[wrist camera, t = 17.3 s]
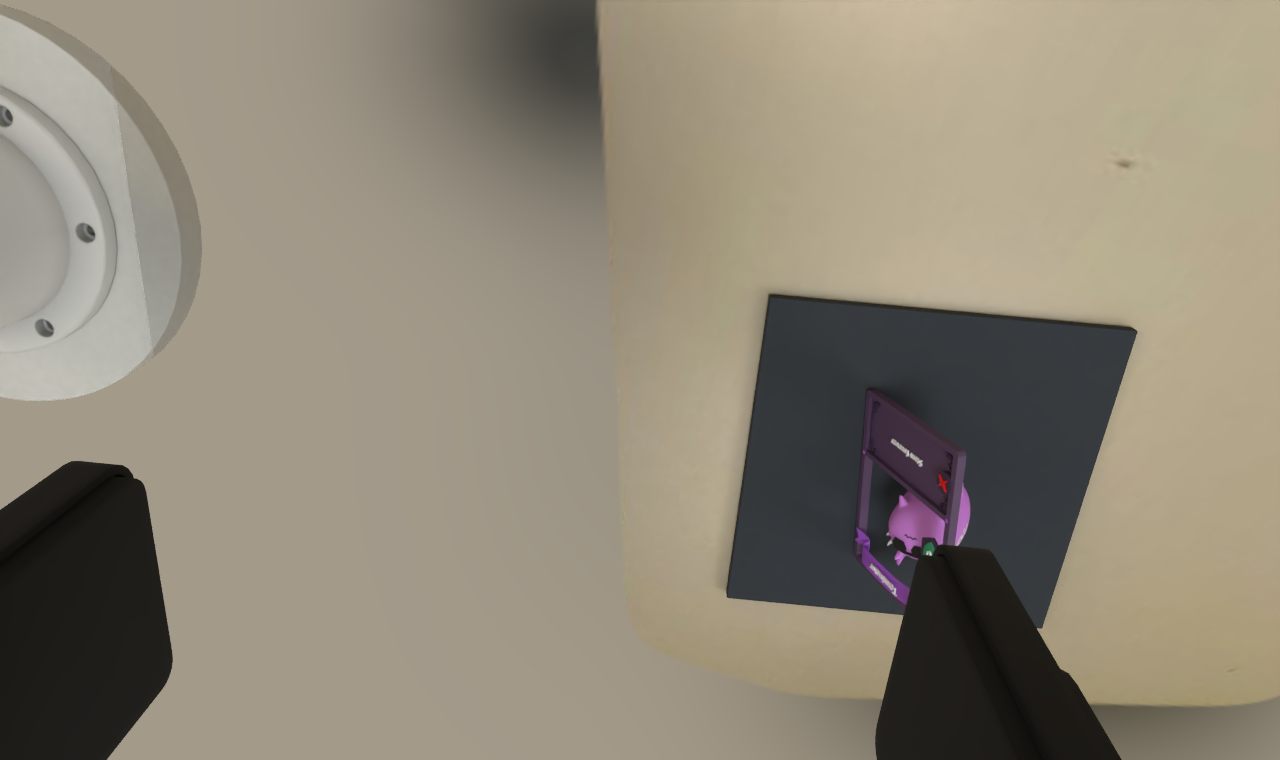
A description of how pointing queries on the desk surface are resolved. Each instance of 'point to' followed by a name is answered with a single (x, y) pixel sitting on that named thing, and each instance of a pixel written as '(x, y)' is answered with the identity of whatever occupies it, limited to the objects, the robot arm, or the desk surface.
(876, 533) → the mat
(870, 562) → the purple toy figure
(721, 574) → the desk surface
